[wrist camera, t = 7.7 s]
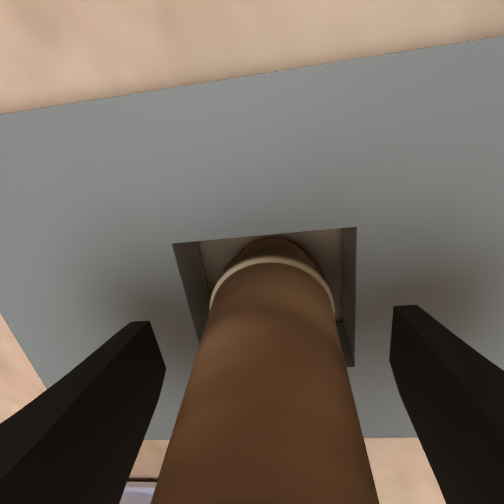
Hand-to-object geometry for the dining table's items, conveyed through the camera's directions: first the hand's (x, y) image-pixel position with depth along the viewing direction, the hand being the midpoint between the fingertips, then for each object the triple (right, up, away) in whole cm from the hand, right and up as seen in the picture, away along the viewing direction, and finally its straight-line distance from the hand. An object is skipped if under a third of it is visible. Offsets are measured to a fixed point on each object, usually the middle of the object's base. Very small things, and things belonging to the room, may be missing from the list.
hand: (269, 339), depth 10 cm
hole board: (0, +2, +3) cm, 4 cm away
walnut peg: (0, +2, +3) cm, 4 cm away
